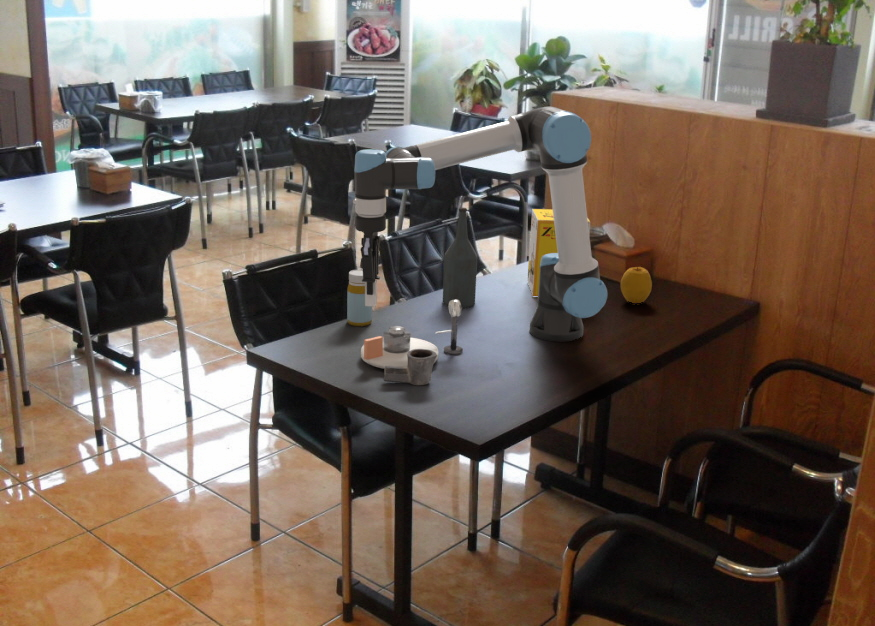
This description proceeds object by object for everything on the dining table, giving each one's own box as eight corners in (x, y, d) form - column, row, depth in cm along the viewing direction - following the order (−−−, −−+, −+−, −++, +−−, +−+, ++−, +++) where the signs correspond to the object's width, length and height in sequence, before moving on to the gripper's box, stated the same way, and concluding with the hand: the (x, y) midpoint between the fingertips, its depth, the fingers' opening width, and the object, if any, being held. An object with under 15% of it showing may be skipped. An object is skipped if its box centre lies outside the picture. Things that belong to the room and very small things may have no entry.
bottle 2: (481, 306, 296) (486, 210, 286) (454, 311, 291) (458, 213, 281) (463, 297, 304) (467, 203, 295) (436, 301, 299) (439, 205, 290)
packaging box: (583, 299, 307) (590, 221, 299) (532, 297, 306) (537, 220, 298) (576, 284, 322) (582, 210, 314) (527, 282, 322) (532, 208, 314)
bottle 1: (368, 328, 274) (368, 277, 269) (344, 325, 275) (344, 274, 271) (374, 320, 281) (375, 270, 276) (351, 317, 282) (351, 268, 277)
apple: (627, 296, 311) (630, 260, 307) (655, 302, 306) (659, 266, 302) (613, 303, 304) (617, 267, 300) (642, 309, 298) (646, 273, 295)
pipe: (383, 378, 240) (384, 348, 237) (435, 378, 241) (436, 348, 238) (384, 388, 234) (384, 357, 231) (436, 388, 235) (438, 357, 232)
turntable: (405, 336, 265) (406, 314, 263) (454, 358, 250) (455, 335, 248) (342, 353, 252) (342, 329, 250) (389, 377, 237) (390, 352, 235)
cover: (399, 342, 257) (399, 322, 255) (415, 349, 251) (416, 329, 250) (377, 347, 252) (378, 327, 251) (393, 355, 247) (394, 335, 245)
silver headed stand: (457, 347, 262) (459, 296, 257) (466, 353, 258) (468, 301, 253) (430, 351, 258) (432, 299, 254) (439, 357, 254) (441, 305, 250)
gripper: (360, 207, 244) (361, 296, 252) (349, 219, 232) (350, 312, 239) (390, 208, 243) (390, 298, 251) (380, 220, 231) (380, 314, 238)
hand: (371, 305), depth 245 cm, fingers closed
